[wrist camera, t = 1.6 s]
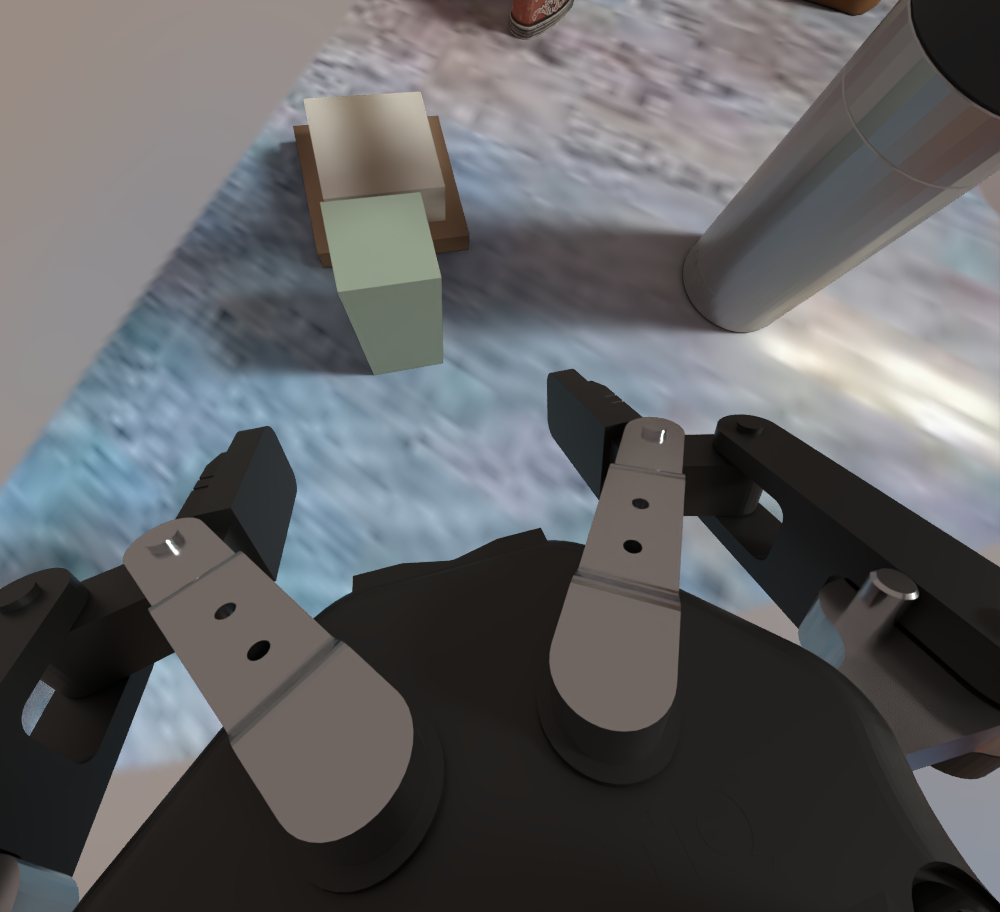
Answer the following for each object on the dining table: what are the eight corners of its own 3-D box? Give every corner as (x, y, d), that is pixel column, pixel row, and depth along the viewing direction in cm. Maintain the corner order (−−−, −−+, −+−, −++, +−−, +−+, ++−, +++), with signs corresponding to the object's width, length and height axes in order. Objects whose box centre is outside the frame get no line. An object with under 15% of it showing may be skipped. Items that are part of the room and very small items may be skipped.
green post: (428, 302, 31) (420, 192, 21) (443, 363, 30) (441, 277, 20) (361, 312, 30) (319, 202, 20) (374, 375, 29) (337, 291, 19)
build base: (438, 134, 34) (436, 73, 29) (468, 249, 32) (471, 203, 28) (300, 144, 32) (276, 82, 28) (323, 268, 30) (302, 221, 26)
